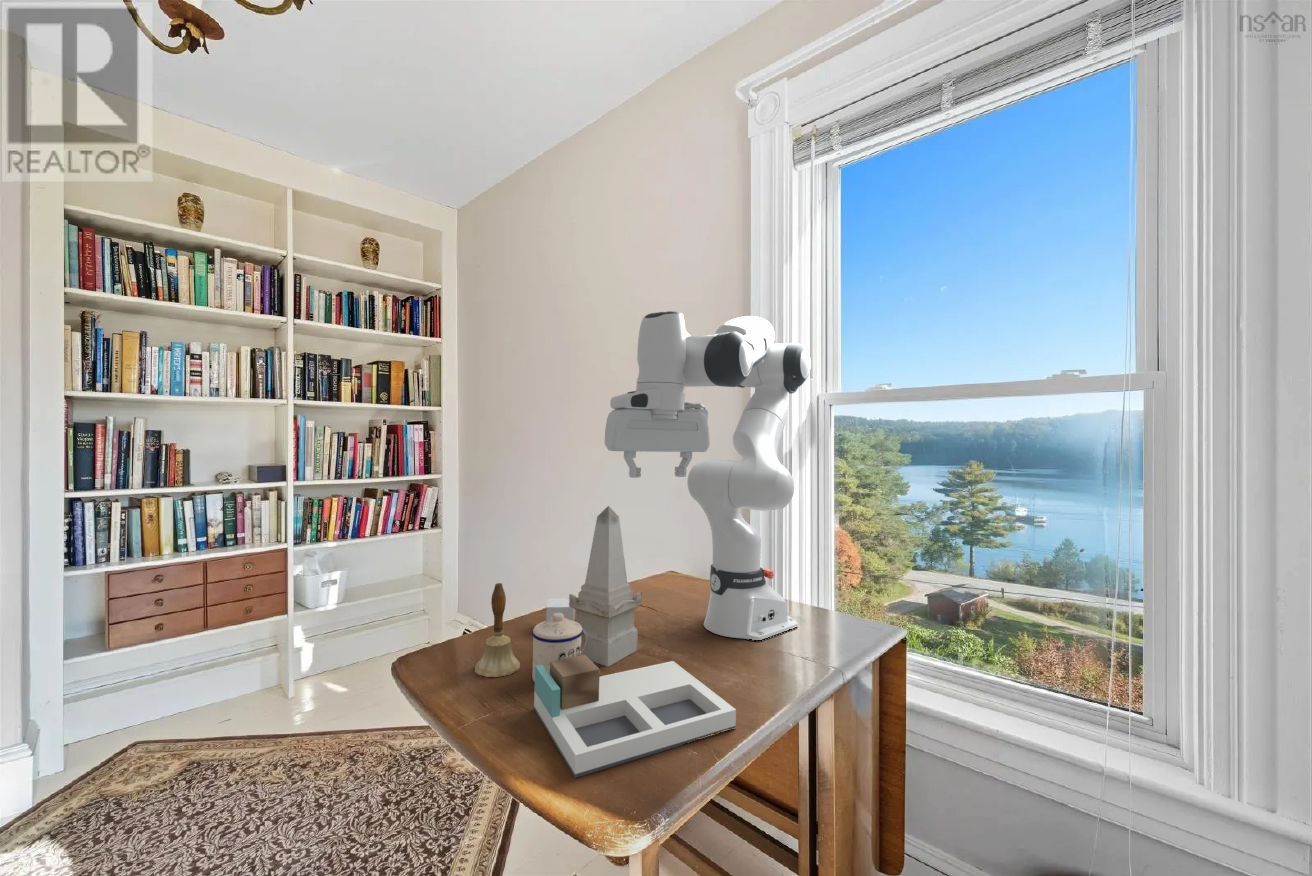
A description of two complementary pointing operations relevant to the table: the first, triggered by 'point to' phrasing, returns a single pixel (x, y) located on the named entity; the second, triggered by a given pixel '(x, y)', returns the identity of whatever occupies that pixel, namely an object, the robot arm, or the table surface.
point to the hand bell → (497, 643)
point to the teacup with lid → (557, 641)
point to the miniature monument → (607, 596)
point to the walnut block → (576, 680)
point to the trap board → (630, 716)
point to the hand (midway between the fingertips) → (658, 477)
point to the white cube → (559, 608)
